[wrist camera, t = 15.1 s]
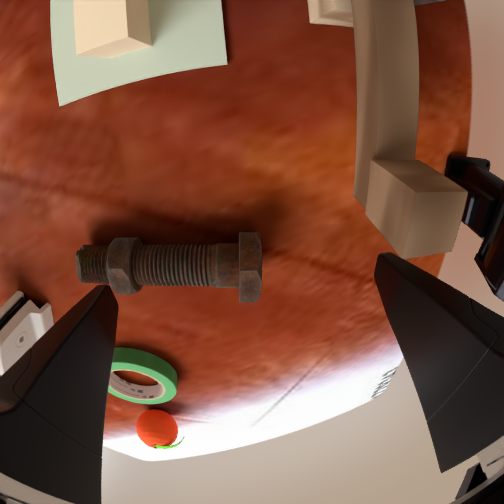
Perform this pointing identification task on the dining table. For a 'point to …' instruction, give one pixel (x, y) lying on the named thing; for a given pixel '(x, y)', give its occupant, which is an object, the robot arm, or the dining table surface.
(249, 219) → the dining table surface
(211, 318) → the dining table surface
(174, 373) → the tape roll
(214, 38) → the lid
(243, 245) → the bolt
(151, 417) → the clementine
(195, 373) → the dining table surface
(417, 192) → the key
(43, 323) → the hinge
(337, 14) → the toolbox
